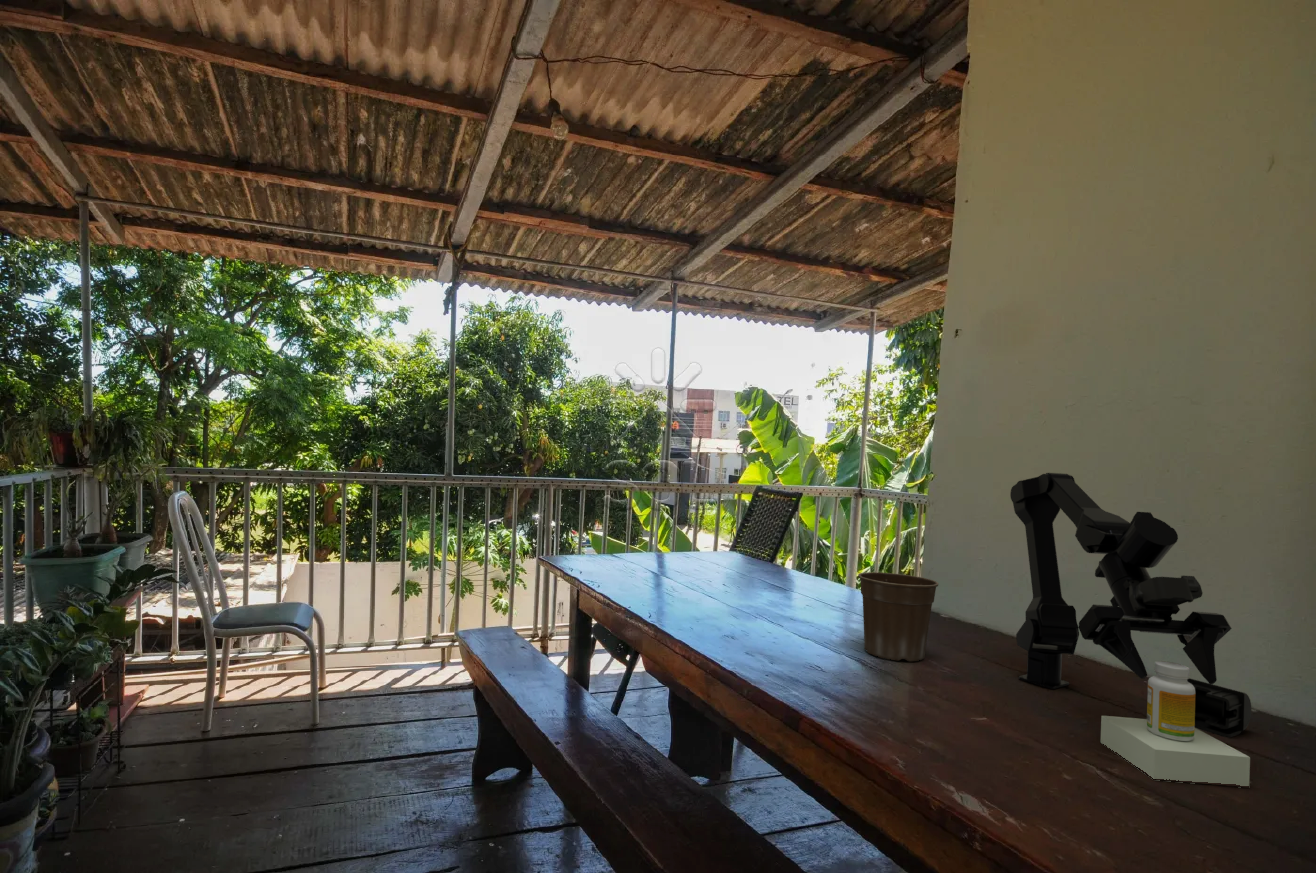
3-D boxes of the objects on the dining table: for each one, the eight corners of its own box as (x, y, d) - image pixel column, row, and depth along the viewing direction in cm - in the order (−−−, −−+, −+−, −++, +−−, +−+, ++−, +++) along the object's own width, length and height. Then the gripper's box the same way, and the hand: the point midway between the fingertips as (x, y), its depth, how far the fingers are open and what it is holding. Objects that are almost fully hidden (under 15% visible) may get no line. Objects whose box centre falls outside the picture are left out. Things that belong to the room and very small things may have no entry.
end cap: (1251, 733, 110) (1252, 690, 110) (1232, 739, 107) (1233, 696, 107) (1179, 711, 119) (1180, 672, 119) (1159, 716, 115) (1160, 676, 115)
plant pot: (868, 639, 156) (872, 568, 157) (943, 654, 147) (946, 579, 147) (843, 653, 143) (847, 576, 143) (923, 671, 133) (927, 588, 134)
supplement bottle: (1204, 741, 94) (1206, 670, 94) (1172, 742, 93) (1174, 670, 93) (1167, 726, 99) (1169, 658, 99) (1137, 727, 98) (1139, 659, 98)
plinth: (1100, 742, 102) (1101, 715, 102) (1184, 749, 101) (1184, 722, 101) (1153, 779, 90) (1154, 749, 90) (1249, 788, 89) (1250, 757, 89)
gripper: (1092, 550, 101) (1137, 644, 90) (1223, 558, 100) (1285, 655, 89) (1062, 592, 109) (1099, 685, 97) (1183, 601, 108) (1236, 695, 96)
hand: (1178, 679), depth 95 cm, fingers open, 9 cm apart
